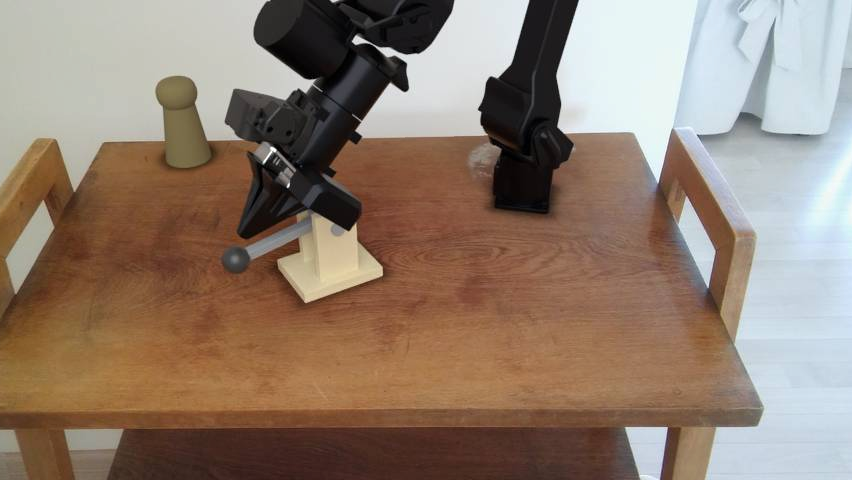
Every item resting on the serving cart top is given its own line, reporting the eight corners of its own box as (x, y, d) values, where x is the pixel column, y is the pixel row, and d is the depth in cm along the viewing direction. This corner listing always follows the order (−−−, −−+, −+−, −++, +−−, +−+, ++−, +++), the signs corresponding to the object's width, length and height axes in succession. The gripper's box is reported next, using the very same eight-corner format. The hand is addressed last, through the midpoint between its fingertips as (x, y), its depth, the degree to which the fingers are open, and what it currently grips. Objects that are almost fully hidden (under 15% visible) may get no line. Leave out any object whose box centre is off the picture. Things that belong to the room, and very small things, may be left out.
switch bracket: (305, 303, 77) (297, 230, 72) (278, 268, 82) (269, 197, 77) (383, 276, 81) (381, 204, 76) (352, 244, 86) (348, 174, 81)
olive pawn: (216, 147, 106) (204, 70, 99) (204, 168, 101) (190, 89, 94) (174, 146, 106) (158, 69, 100) (159, 167, 101) (142, 88, 95)
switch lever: (232, 284, 74) (223, 262, 72) (222, 269, 76) (213, 248, 74) (346, 227, 78) (341, 205, 76) (334, 215, 80) (328, 193, 78)
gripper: (235, 25, 72) (144, 159, 75) (320, 93, 59) (206, 253, 62) (316, 86, 80) (232, 206, 82) (408, 158, 67) (304, 298, 69)
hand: (241, 236), depth 74 cm, fingers closed
